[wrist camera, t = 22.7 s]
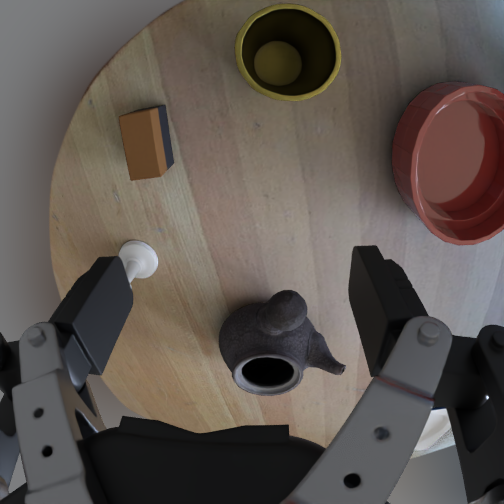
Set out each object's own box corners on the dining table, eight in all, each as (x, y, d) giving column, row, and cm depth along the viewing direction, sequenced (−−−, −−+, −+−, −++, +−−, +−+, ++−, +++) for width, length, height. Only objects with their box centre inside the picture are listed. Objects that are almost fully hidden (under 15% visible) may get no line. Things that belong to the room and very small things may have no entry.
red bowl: (389, 71, 25) (413, 72, 20) (509, 94, 23) (540, 102, 19) (383, 223, 33) (400, 249, 28) (493, 220, 32) (516, 242, 27)
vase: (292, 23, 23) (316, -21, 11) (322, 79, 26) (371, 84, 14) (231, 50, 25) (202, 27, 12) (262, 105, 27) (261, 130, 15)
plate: (359, 448, 62) (361, 457, 60) (404, 403, 52) (407, 414, 49) (425, 442, 63) (427, 450, 61) (472, 398, 53) (476, 407, 51)
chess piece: (156, 280, 38) (130, 339, 29) (119, 269, 37) (86, 324, 29) (160, 246, 35) (131, 303, 27) (121, 235, 35) (83, 287, 26)
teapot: (332, 358, 44) (342, 415, 36) (226, 362, 45) (219, 419, 37) (346, 245, 35) (370, 303, 26) (206, 251, 36) (189, 310, 27)
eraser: (136, 110, 28) (118, 116, 24) (165, 104, 27) (150, 109, 24) (146, 166, 31) (130, 181, 27) (174, 163, 30) (161, 177, 27)
